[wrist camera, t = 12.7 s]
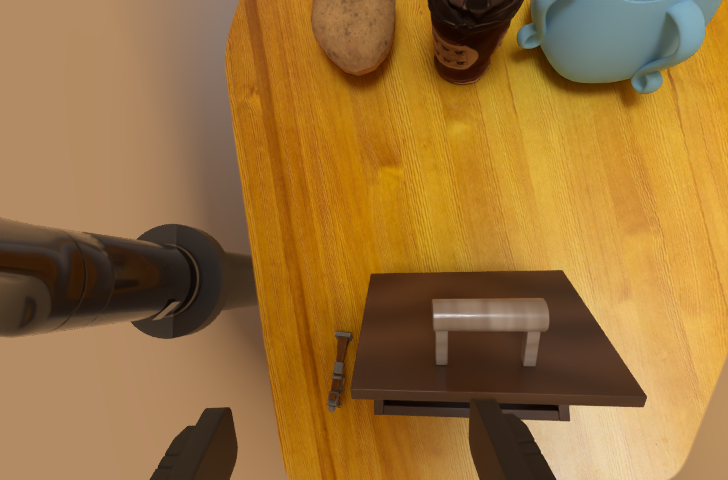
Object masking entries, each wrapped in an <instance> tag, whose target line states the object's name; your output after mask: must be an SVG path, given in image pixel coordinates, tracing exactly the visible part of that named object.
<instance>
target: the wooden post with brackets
mask: <svg viewBox="0 0 728 480" xmlns="http://www.w3.org/2000/svg"><path fill="white" fill-rule="evenodd" d="M335 337H336V338H337V340H338V344H337V358H336V362H335V365H334V370H333V374H334V376H333V375H332V379H333V382H332V387H331V391H329V397H328V402H327V405H328V406H329V408H328V410H329V412H334V411H335V407H338V408H341V405H342V403H341V400H340V397H339V396H340V395H342V394H341V391H343V390H345V389H344V388H343V387H344V382H345V378H344V374H343V370H344V365H345V364H344V358H345V354H346V349H347V345H348V342H349V341H352V338H353V337H352V335H351V333H344V332H335ZM338 398H339V399H338Z"/></svg>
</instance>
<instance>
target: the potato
mask: <svg viewBox="0 0 728 480" xmlns="http://www.w3.org/2000/svg"><path fill="white" fill-rule="evenodd" d="M311 23H312V28H313V32H314V36H315V39H316V40H317V42H318V43H319V44H320V46H321V47H322V49H323V50H324V51H325V53H326V54H327V55H328V57H329V58H330V59H331V60H332V61H333V62H334V63H335V64H336V65H337V66H339V67H340V68H341V69H342V70H343V71H344V72H346V73H349V74H353V75H357V76H360V75H363V74H366V73H369V72H372V71H374V70H375V69H376V68H377V67H378V66H379V65H380V64H381V63H382V62H383V61H384V59H385V58H386V57H387V55H388V53H389V50H390V48H391V46H392V43H393V36H394V24H395V0H313V7H312V14H311Z"/></svg>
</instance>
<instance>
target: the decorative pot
mask: <svg viewBox="0 0 728 480" xmlns="http://www.w3.org/2000/svg"><path fill="white" fill-rule="evenodd" d="M721 2H722V0H531V5H530V10H531V18H532V23H530V24H527V25H525V26H523V27H522V28H521V29H520V30H519V32H518V34H517V42H518V45H519V46H520V47H522V48H524V49H531V48H535V47H537V46H539V45H540V46H541V49H542V50H543V52H544V54H545V56H546V58H547V60H548V61H549V63H550V64H551V65H552V67H553V68H554V70H556V71H557V72H558V73H559V74H560V75H561V76H563V77H564V78H566V79H569V80H571V81H575V82H579V83H608V82H616V81H622V80H626V79H630V78H631V85H632V87H633V88H634V90H635V91H637V92H638V93H640V94H648V93H652V92H654V91H656V90H657V89H659V88H660V86H661V85H662V81H663V79H662V75H661V73H660V72H659V71H658V70H662V69H666V68H669V67H672V66H675V65H677V64H679V63H681V62H683V61H685V60H687V59H688V58H690V57H691V56H692V55H694V54H695V53H696V52H697V51H698V49H699V48H700V46H701V45H702V43H703V40H704V36H705V27H706V26H707V25H708V23H709V22H710V20H711V19H712V18H713V16H714V14H715V13H716V11H717V9H718V8H719V6H720V4H721Z"/></svg>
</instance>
